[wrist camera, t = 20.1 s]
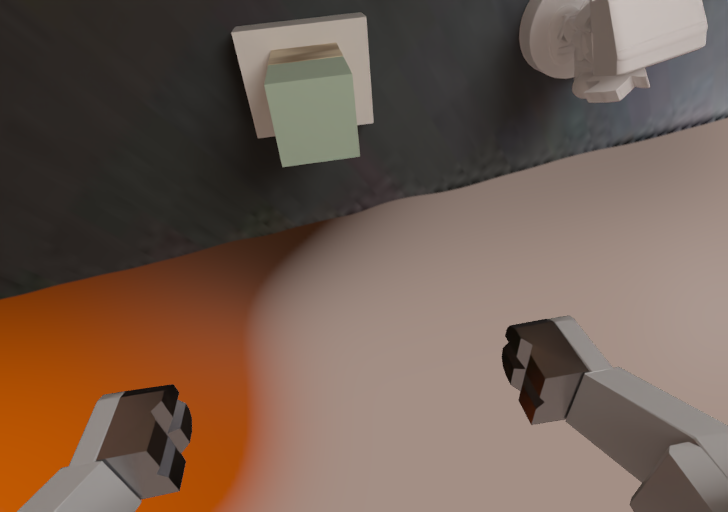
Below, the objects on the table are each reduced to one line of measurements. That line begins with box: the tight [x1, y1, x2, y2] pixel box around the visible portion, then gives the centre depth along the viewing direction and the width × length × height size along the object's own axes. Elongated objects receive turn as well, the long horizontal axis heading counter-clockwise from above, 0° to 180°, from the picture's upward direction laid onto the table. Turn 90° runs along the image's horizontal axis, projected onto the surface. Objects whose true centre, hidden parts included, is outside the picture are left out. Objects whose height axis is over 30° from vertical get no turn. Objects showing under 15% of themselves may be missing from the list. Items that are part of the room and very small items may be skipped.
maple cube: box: [268, 43, 343, 65], centre depth 30 cm, size 5×5×5 cm
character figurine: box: [519, 0, 708, 103], centre depth 30 cm, size 9×10×12 cm
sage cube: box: [264, 56, 360, 167], centre depth 26 cm, size 5×5×5 cm
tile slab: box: [231, 12, 374, 138], centre depth 33 cm, size 10×8×3 cm
